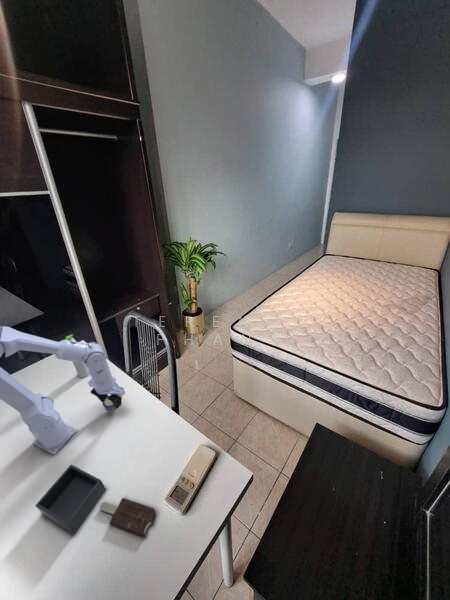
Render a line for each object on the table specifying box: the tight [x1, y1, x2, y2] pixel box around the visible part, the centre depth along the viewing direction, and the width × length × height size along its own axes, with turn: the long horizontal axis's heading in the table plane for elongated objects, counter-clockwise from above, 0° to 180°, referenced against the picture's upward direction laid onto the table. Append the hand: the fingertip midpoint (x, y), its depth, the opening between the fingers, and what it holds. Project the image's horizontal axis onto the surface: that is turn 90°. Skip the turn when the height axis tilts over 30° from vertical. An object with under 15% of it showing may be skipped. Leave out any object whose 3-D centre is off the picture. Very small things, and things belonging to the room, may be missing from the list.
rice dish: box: [102, 395, 117, 412], centre depth 89 cm, size 6×6×3 cm
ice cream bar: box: [99, 497, 157, 538], centre depth 62 cm, size 5×2×15 cm
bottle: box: [65, 333, 90, 378], centre depth 102 cm, size 4×4×20 cm
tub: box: [34, 464, 107, 536], centre depth 64 cm, size 11×10×5 cm
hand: (112, 403), depth 89 cm, fingers closed on rice dish, 5 cm apart
